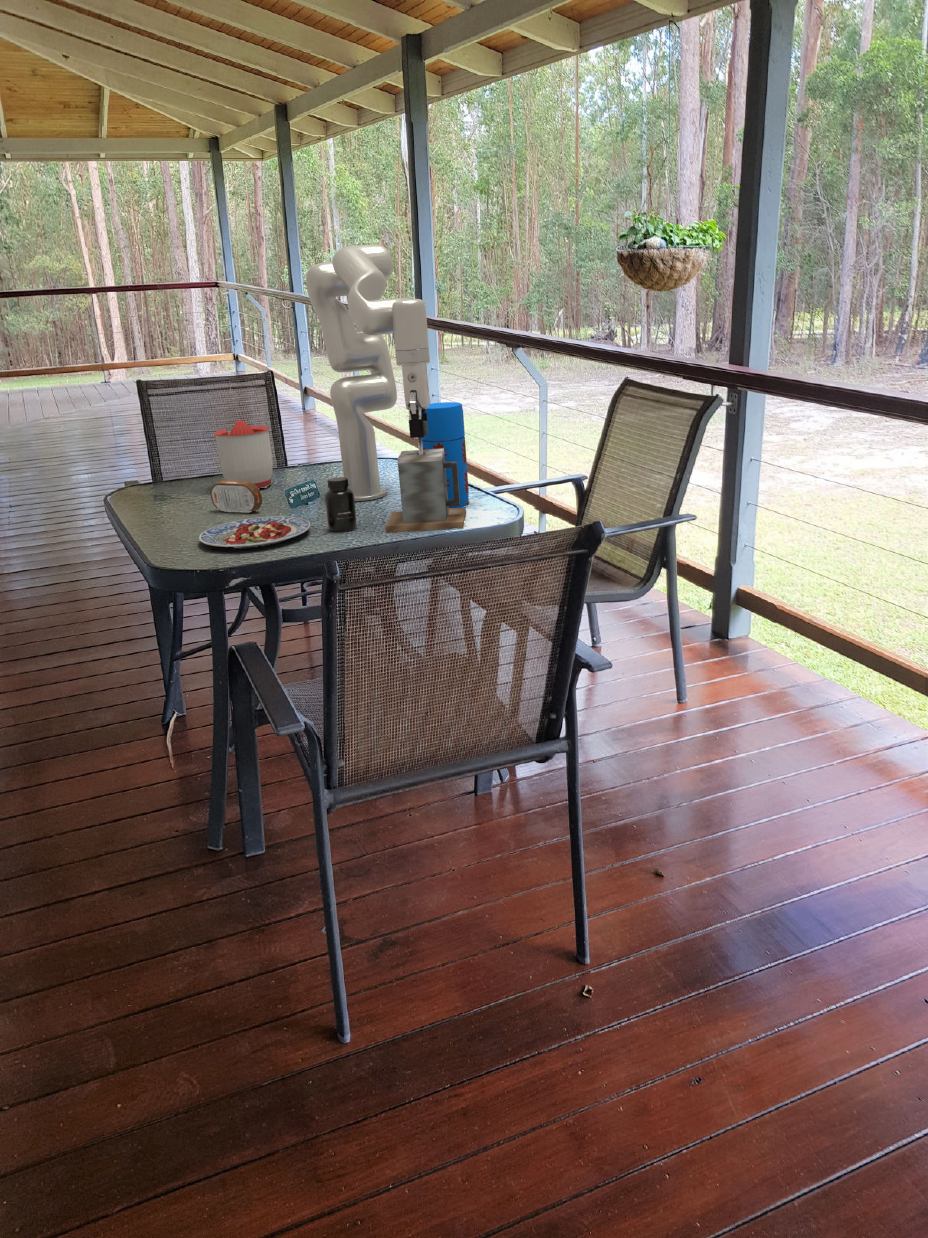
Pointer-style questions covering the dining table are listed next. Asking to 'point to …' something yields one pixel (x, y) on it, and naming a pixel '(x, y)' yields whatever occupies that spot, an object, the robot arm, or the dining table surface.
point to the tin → (236, 495)
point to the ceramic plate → (256, 531)
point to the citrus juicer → (245, 454)
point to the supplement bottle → (340, 505)
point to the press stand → (426, 493)
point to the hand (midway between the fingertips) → (419, 433)
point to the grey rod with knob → (421, 438)
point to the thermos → (449, 443)
